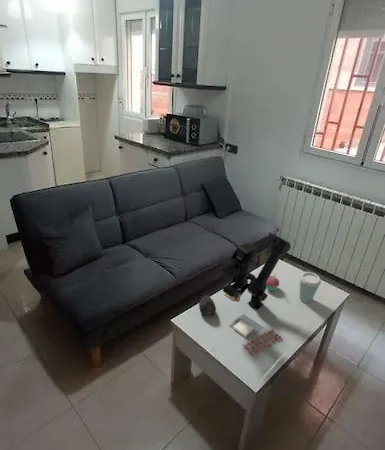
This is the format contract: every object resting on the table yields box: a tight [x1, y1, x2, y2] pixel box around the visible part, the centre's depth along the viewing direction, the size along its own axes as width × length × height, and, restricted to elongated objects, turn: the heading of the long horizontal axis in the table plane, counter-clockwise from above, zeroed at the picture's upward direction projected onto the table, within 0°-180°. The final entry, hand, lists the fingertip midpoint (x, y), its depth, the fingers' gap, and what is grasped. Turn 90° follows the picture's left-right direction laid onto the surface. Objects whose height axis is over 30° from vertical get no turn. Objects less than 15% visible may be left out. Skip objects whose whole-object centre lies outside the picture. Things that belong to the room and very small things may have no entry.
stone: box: [198, 294, 217, 316], centre depth 152 cm, size 8×8×10 cm
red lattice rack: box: [242, 329, 284, 358], centre depth 139 cm, size 7×19×2 cm, turn 123°
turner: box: [224, 289, 242, 303], centre depth 150 cm, size 4×8×6 cm, turn 46°
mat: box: [228, 313, 265, 342], centre depth 147 cm, size 12×12×1 cm
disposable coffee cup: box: [298, 271, 322, 304], centre depth 165 cm, size 11×11×15 cm
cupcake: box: [266, 273, 280, 292], centre depth 172 cm, size 9×8×12 cm
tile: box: [232, 320, 253, 338], centre depth 145 cm, size 2×7×6 cm
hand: (237, 297), depth 149 cm, fingers closed on turner, 3 cm apart
